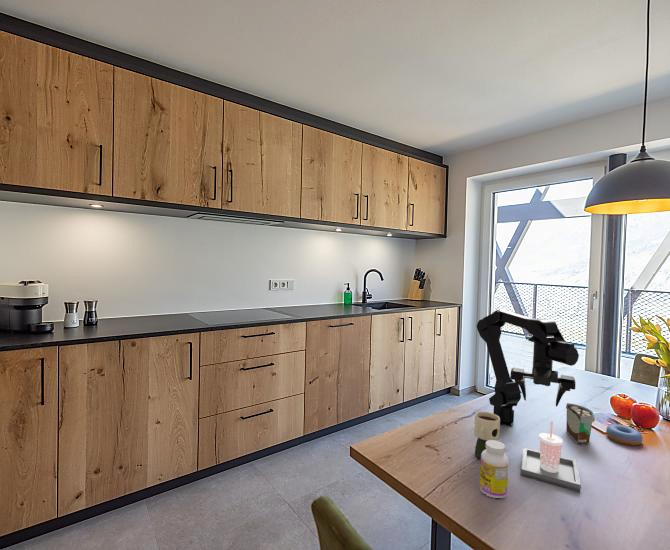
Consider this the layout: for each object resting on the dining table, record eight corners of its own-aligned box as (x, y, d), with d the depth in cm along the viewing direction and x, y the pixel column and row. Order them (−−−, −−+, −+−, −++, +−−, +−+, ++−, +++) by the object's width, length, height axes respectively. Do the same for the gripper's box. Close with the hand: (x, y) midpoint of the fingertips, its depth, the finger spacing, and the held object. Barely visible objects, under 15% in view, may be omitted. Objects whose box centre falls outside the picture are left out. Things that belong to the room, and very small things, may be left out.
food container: (600, 448, 122) (602, 418, 121) (579, 446, 123) (581, 416, 122) (583, 431, 134) (585, 404, 133) (564, 429, 135) (566, 402, 134)
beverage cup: (563, 476, 104) (566, 427, 103) (539, 471, 106) (541, 423, 106) (559, 464, 110) (561, 418, 109) (535, 460, 112) (538, 414, 111)
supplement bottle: (474, 484, 101) (477, 438, 100) (498, 483, 101) (500, 437, 101) (487, 500, 94) (489, 451, 93) (512, 499, 95) (514, 450, 94)
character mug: (492, 469, 108) (494, 425, 107) (467, 460, 112) (469, 418, 112) (502, 454, 116) (504, 413, 116) (479, 446, 121) (481, 407, 120)
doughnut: (646, 440, 128) (645, 427, 128) (639, 451, 121) (638, 437, 121) (610, 432, 135) (609, 419, 135) (603, 442, 129) (602, 429, 129)
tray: (521, 475, 105) (521, 469, 105) (523, 453, 117) (523, 447, 117) (580, 492, 98) (580, 484, 98) (576, 466, 111) (576, 460, 110)
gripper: (510, 358, 122) (507, 405, 123) (578, 367, 113) (575, 418, 114) (512, 351, 132) (510, 394, 132) (575, 359, 123) (572, 406, 123)
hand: (540, 403), depth 125 cm, fingers open, 9 cm apart
